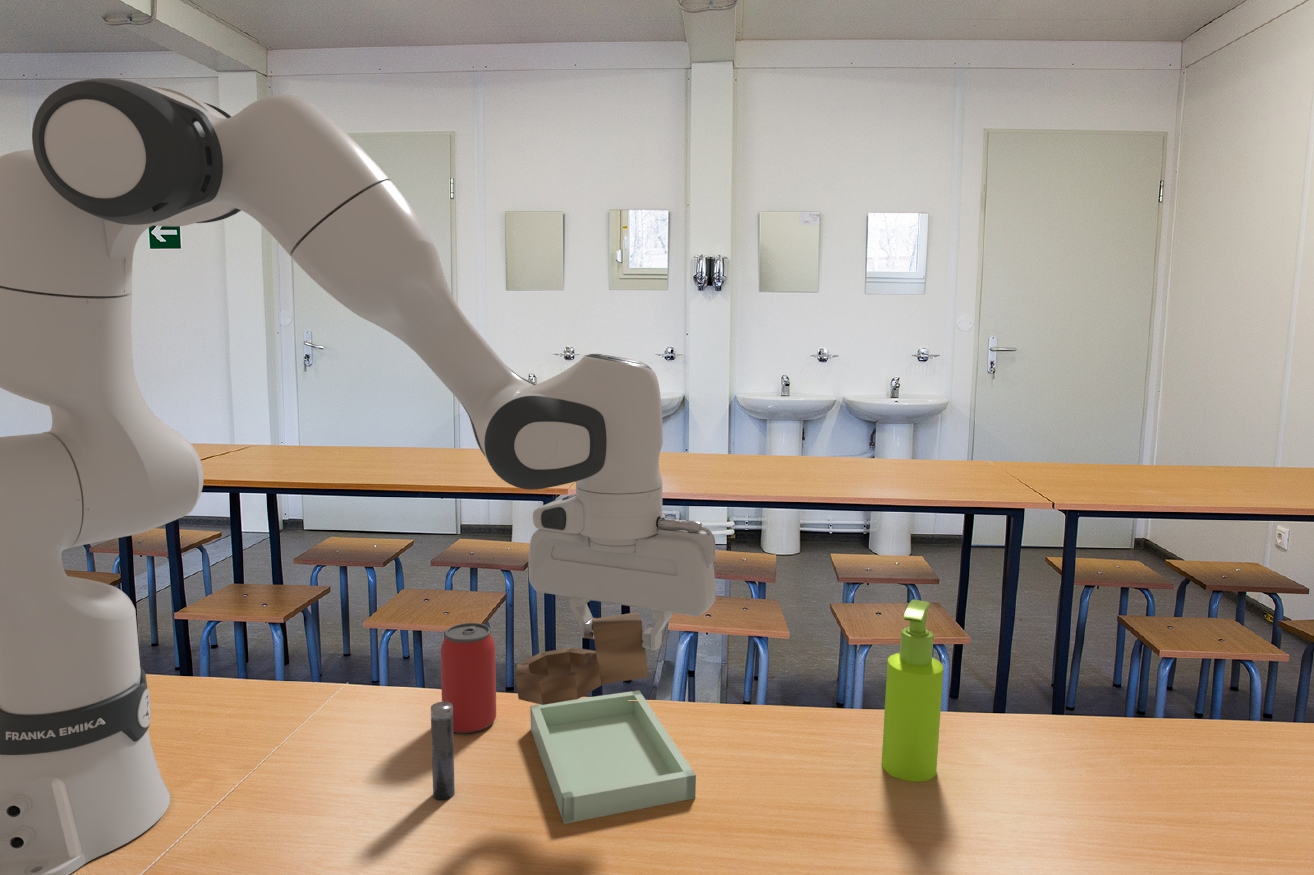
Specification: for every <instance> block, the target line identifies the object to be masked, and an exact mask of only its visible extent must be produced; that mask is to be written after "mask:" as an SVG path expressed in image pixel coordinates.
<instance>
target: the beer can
mask: <svg viewBox="0 0 1314 875" xmlns="http://www.w3.org/2000/svg"><path fill="white" fill-rule="evenodd" d="M492 635H493V634H492V629H491V627H489V626H488V625H486V624H484V623H479V622H464V623H458V624H455V625H452V626H450V627H449V628H447V629H445V631H444V638H443V641H442V643H441V646H440V678H441V679H440V680H441V683H440V685H441V702H450V703H452V705H453V733H458V734H459V733H460V734H471V733H476V732H480V731H483V730H485V729H486V728H488V727H490V726H491V725H492V724H493V723H494V722H495V721H496V717H497V677H496V676H497V674H496V669H497V668H496V666H497V664H496V662H497V660H496V659H497V658H496V644H495V641H494V638H493V636H492Z"/></svg>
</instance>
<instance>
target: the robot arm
mask: <svg viewBox="0 0 1314 875" xmlns="http://www.w3.org/2000/svg"><path fill="white" fill-rule="evenodd" d="M31 142H32V149H23V150H16V151H13V152H8V153H5V154H3V155H2V156H0V389H2V390H5V391H6V392H9V393H11V394H14V395H17V396H18V397H21V398H24V399H26V400H29V401H32V402H35V403H38V404H42V405H44V406H47V407H49V409H50V413H51V420H52V421H51V422H52V424H51V428H50V430H48V431H43V432H41V433H30V434H20V435H19V434H17V435H7V436H0V875H71V874H72V873H73V872H75V871H76V870H78V869H79V868H81V867H82V866H84V865H85V864H87V863H88V862H91V861H92V860H94V859H96V858H98V857H100V856H103V855H105V854H108V853H110V852H112V851H114V850H116V849H118V848H120V847H122V846H124V845H125V844H128V843H129V842H131V841H133V840H134V839H136V838H138V837H139V836H140V835H142V834H143V833H145V832H146V831H147V830H149V829H150V828H151V827H152V826H154V825H155V824H156V823H157V822H158V821H159V820H160V819H161V818H162V816H163V815H164V814H165V813H166V812H167V809H168V807H169V805H170V804H171V803H170V802H171V792H170V791H169V788H168V787H167V785H166V784H165V781H164V779H163V777H162V775H161V771H160V769H159V766H158V763H157V760H156V757H155V753H154V749H153V746H152V742H151V738H150V737H151V736H150V733H149V732H150V731H149V727H150V723H151V715H152V714H151V712H152V711H151V698H150V690H149V688H148V682H147V674H146V672H145V670H144V669H143V668H141V659H140V647H139V636H138V625H137V624H138V623H137V615H136V614H137V612H136V608H135V606H134V604H133V601H132V600H131V599H130V597H129V596H128V595H127V594H126V593H125V592H124V591H122V590H121V589H119V588H118V587H116V586H115V585H114V586H113V585H111V584H109V583H105V582H102V581H98V580H93V579H88V578H83V577H76V576H70V575H69V576H68V575H67V573H66V571H65V568H64V564H63V562H62V560H63V559H62V558H63V557H62V553H63V551H65V550H68V549H70V548H74V547H81V546H84V545H88V544H89V545H90V544H95V543H98V542H105V541H110V540H115V539H119V538H124V537H130V536H135V535H140V534H143V533H145V532H149V531H151V530H153V529H157V528H159V527H161V526H165V525H167V524H169V523H171V522H174V521H177V520H179V519H180V518H183V517H185V516H187V515H189V514H190V513H191V512H192V511H193V509H194V508H195V507H196V505H197V503H198V501H199V499H200V497H201V494H202V491H203V487H204V480H205V478H204V475H205V474H204V468H203V463H202V461H201V457H200V455H199V453H198V452H197V450H196V448H195V447H194V446H193V444H192V443H191V441H189V439H187V438H186V437H185V436H183V435H182V434H181V433H180V432H178V431H177V430H175V429H174V428H171V427H170V426H169V425H167V424H166V423H164V421H162V420H161V419H160V418H159V417H158V416H157V415H156V414H155V413H154V412H153V411H152V410H151V408H150V406H149V405H148V403H146V400H145V399H144V396H143V395H142V393H141V389H140V388H139V385H138V382H137V379H136V376H135V370H134V361H133V346H132V345H133V344H132V339H133V338H132V306H133V305H132V304H133V300H132V299H133V298H132V297H133V260H134V252H135V248H136V245H137V243H138V240H139V239H140V238H141V236H142V235H143V233H144V232H145V231H146V230H147V229H149V228H151V227H153V226H154V227H155V226H157V227H184V226H190V225H193V224H205V223H206V224H207V223H214V222H219V221H222V220H226V219H228V218H230V217H233V216H234V215H236V214H238V213H240V212H243V213H245V214H247V215H249V216H250V217H252V218H253V219H255V221H257V222H258V223H259V224H260V225H261V226H263V228H264V229H265V230H266V231H268V233H269V234H270V235H271V236H272V237H273V238H274V239H275V240H276V241H277V243H278V244H279V245H280V246H281V247H282V248H283V250H284V251H285V252H286V253H287V254H288V255H289V256H290V257H291V258H292V259H293V261H294V262H295V263H296V264H297V265H298V266H299V267H300V268H301V269H302V270H303V272H304V273H306V275H307V276H309V277H310V279H311V280H313V281H314V282H315V283H316V284H317V285H318V286H320V288H322V289H323V290H324V291H325V292H326V293H327V294H328V295H330V296H331V297H332V298H334V299H335V301H337V302H339V303H340V304H341V305H343V306H344V307H345V308H346V309H348V310H349V311H351V313H354V315H356V316H359V317H360V318H361V319H363V320H366V321H367V322H370V323H372V324H374V325H375V326H377V327H380V328H382V329H383V330H385V331H386V332H388V333H390V334H391V335H393V336H395V337H396V338H397V339H399V340H400V341H402V342H403V343H404V344H405V345H407V346H408V347H409V348H410V349H412V351H414V352H415V353H416V354H417V356H419V357H420V359H421V360H422V361H423V362H424V363H425V364H426V366H427V367H428V368H429V369H430V370H431V371H432V372H433V373H434V374H435V376H436V377H438V379H439V380H440V381H441V382H442V384H444V386H445V387H446V388H447V389H448V390H449V391H450V392H451V394H452V395H453V396H454V397H455V398H456V399H457V400H458V401H459V403H460V404H461V406H462V407H463V408H464V410H465V412H466V413H467V416H468V418H469V421H470V424H471V428H472V432H473V434H474V438H475V441H476V444H477V445H478V449H479V450H480V451H481V453H482V454H483V456H484V458H486V461H487V462H488V464H489V466H490V467H491V469H492V470H493V471H494V473H495V474H496V475H497V476H498V477H499V478H500V479H501V480H503V481H504V482H505V483H507V484H509V485H510V486H513V487H515V488H519V489H524V490H527V491H528V490H529V491H530V490H531V491H532V490H533V491H534V490H536V491H537V490H544V489H549V488H554V487H560V486H563V485H567V484H568V485H569V484H572V483H574V482H575V491H576V493H574V494H571V495H568V496H565V497H563V498H559V499H556V500H553V501H550V502H549V503H546V504H543V505H542V506H539V507H538V508H536V509H534V510H533V512H532V522H533V526H534V527H535V528H536V529H537V530H535V531H534V533H533V534H532V536H531V539H530V541H529V550H528V581H529V583H530V585H531V587H532V588H533V589H534V591H536V592H537V593H543V594H549V595H550V594H551V595H556V596H563V597H568V598H569V607H570V609H571V611H572V612H573V615H574V616H575V618H576V620H577V623H579V636H580V638H584V639H591V640H594V633H593V625H592V619H597V617H593V615H592V613H591V610H590V608H589V606H588V603H589V602H590V601H594V602H595V601H596V602H599V603H602V602H603V603H608V604H614V605H621V606H626V607H627V606H628V607H634V608H640V609H646V610H651V618H652V620H656V622H655V623H654V625H653V627H650V626H649V627H648V628H647V629H646V630H643V633H642V640H643V641H644V642H643V643H642V647H643V648H645V650H652V651H658V650H659V648H661V646H662V642H663V640H662V639H663V630H664V628H665V627H666V625H667V623H668V622H669V621H670V619H671V618H672V616H673V614H676V615H677V614H678V615H685V616H692V617H701V616H702V615H703V614H705V612H706V611H708V610H709V609H710V608H711V607H712V605H713V604H714V603H715V601H716V593H717V591H716V580H715V578H716V576H715V569H714V560H715V557H716V538H715V535H714V534H713V532H712V531H711V530H710V529H709V528H707V527H705V526H703V524H702V522H700V521H696V520H688V521H686V520H682V519H676V518H668V517H663V479H662V474H661V472H660V464H659V463H660V454H661V450H662V448H663V442H664V441H663V438H664V436H663V434H664V433H663V432H664V430H663V408H662V397H661V391H660V389H661V388H660V384H659V380H658V376H657V374H656V373H655V371H654V370H653V369H652V368H651V367H650V366H649V365H648V364H646V363H644V362H643V361H639V360H636V359H632V358H627V357H621V356H614V355H608V354H602V353H589V354H585V355H584V356H582V358H580V360H579V361H577V362H576V363H575V364H573V365H571V366H570V367H569V368H567V369H565V370H564V371H562V372H559V373H558V374H557V375H555V376H552V377H551V378H548V379H547V380H544V381H542V382H539V383H535V382H533V381H531V380H528V379H526V378H523V377H521V376H520V375H519V374H517V373H515V372H514V371H513V370H512V369H511V368H510V367H508V366H507V364H506V363H505V362H504V361H503V360H502V359H501V358H500V356H499V354H497V353H496V351H495V350H494V349H493V348H492V347H491V346H490V344H489V343H488V342H487V341H486V340H485V339H484V337H483V336H482V335H481V334H480V332H479V331H478V330H477V329H476V327H475V326H474V325H473V323H471V322H470V320H469V319H468V318H467V316H465V314H464V312H463V311H462V310H461V308H460V306H459V305H458V303H457V302H456V300H455V298H454V296H453V294H452V292H451V290H450V287H449V284H448V282H447V279H446V277H445V273H444V270H443V266H442V264H441V260H440V257H439V253H438V251H437V248H436V245H435V244H434V243H433V240H432V239H431V237H430V234H429V233H428V231H427V229H426V228H425V226H424V224H423V223H422V221H421V219H420V218H419V216H418V215H417V213H416V212H415V210H414V209H413V207H412V206H411V204H410V203H409V201H408V200H407V198H405V196H404V194H403V193H402V192H401V191H400V189H398V187H397V186H396V185H395V183H393V181H392V180H391V179H390V178H389V176H387V174H386V172H384V171H383V169H381V167H380V166H379V165H378V164H377V163H376V162H375V161H374V159H373V158H371V156H370V155H369V154H368V153H367V152H366V151H365V149H363V148H362V147H361V146H360V145H359V144H358V143H357V142H356V140H354V139H353V137H352V136H350V135H349V134H348V133H347V132H346V131H345V130H343V129H342V127H340V126H339V125H338V123H336V122H335V121H334V120H333V119H332V118H330V117H329V116H328V115H327V114H325V113H324V112H323V111H322V110H321V109H319V108H318V107H317V106H316V105H315V104H313V103H312V102H310V101H309V100H307V99H304V98H302V97H299V96H297V95H292V94H291V95H290V94H276V95H270V96H265V97H263V98H260V99H257V100H255V101H254V102H252V103H250V104H248V105H247V106H246V107H244V108H243V109H242V110H240V111H239V112H237V114H234V115H233V116H231V115H230V114H229V113H227V112H226V111H225V110H222V108H221V109H220V108H219V107H217V106H214V105H213V104H210V103H208V102H202V101H200V100H198V99H197V98H194V97H192V96H190V95H189V94H188V95H187V94H185V93H183V92H180V91H177V90H174V89H171V88H165V87H158V86H157V87H156V86H148V85H147V86H146V85H142V84H139V83H137V82H132V81H129V80H125V79H119V78H99V77H98V78H90V79H82V80H79V81H74V82H72V83H68V84H66V85H64V86H62V87H60V88H58V89H56V90H54V91H53V92H52V93H51V94H49V95H48V96H47V97H46V99H44V100H43V102H42V103H41V105H40V106H39V108H38V110H37V112H36V113H35V116H34V119H33V124H32V130H31ZM702 531H703V532H702Z"/></svg>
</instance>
